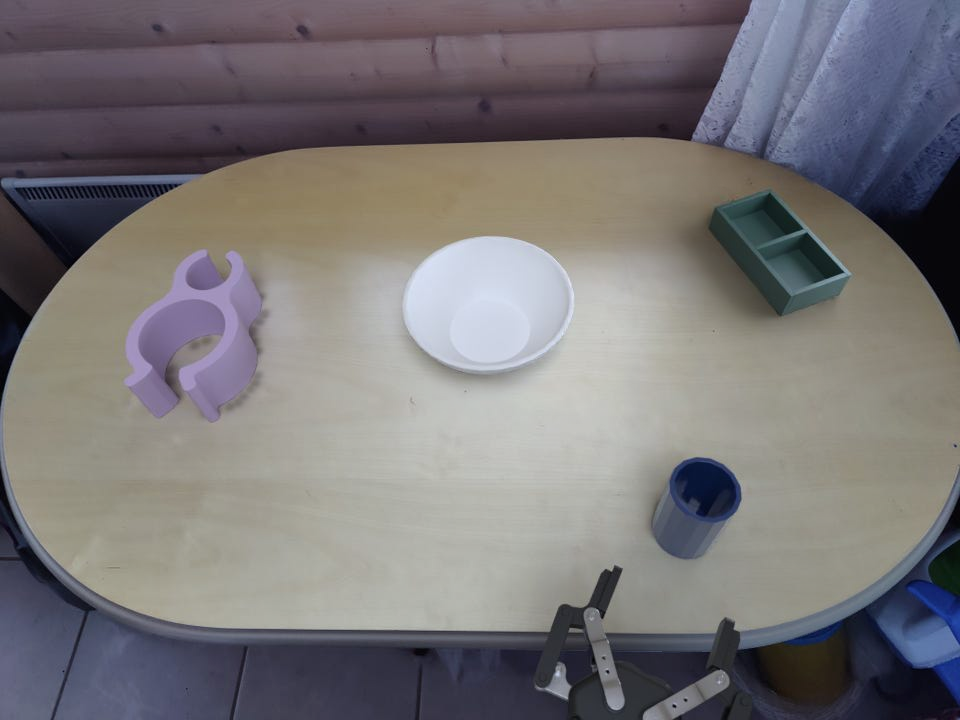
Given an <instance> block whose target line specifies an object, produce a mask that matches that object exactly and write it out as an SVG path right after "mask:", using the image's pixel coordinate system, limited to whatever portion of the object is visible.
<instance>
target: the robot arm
mask: <svg viewBox="0 0 960 720" xmlns="http://www.w3.org/2000/svg"><path fill="white" fill-rule="evenodd" d="M623 570H624V568H623V567H621V566H619V565H617V564H614V565H613V568H612V569H611V570H610V569H608V568H605V569H604V570H602V571H601V573H600V575H599V577H598V579H597V582H596V584H595V587H594V589H593V591H592V593H591V596H590V598H589V601H588V603H587V604H586V605H584V606H582V607H577V606H572V605H570V604H568V603H562V604H560V605H559V606H558V608H557V610H556V613H555V616H554V618H553V622H552V624H551V627H550V630H549V633H548V635H547V638H546V641H545V643H544V646H543V648H542V652H541V654H540V657H539V660H538V663H537V666H536V668H535V672H534V675H533V680H532V684H533V688H534V689H535V690H536V692H537V693H538V692H539V693H541V694H543V693H545V692H546V693H548V694H550V695H552V696H555V697H557V698H559V699H561V700H563V701H566V704H567V716H566V718H565V720H683V718H682V717H683V715H684V714H686V713H688V712H690V711H691V710H693V709H695V708H696V707H697V706H700V705H701V704H702V703H704V702H706V701H708V700H709V699H711V698H713V697H714V698H716V700H718V701H719V702H720V703H721V705H723V706H724V708H723V711H722V714H721V717H720V720H750V717H751V715H752V711H753V709H754V706H755V705H754V700H753V697H752V696H751V695H750V694H749V693H747V692H744V691H743V690H741V689H740V688H739V686H738V685H736V684H735V682H734V681H733V678H732V672H733V667H734V665H735V664H734V663H735V660H736V656H737V653H738V650H739V646H740V643H741V633H740V631H739V630H736V629H735V626H736V620H733V619H732V618H729V617H727V616H724V617H723V618H722V619H721V620H720V621H719V624H718V626H717V629H716V633H715V636H714V639H713V642H712V645H711V649H710V652H709V656H708V659H707V662H706V665H705V669H704V671H705V672H707V675H706V676H704V677H703V678H700V679H699V680H698V681H696V682H694V683H691V684H690V685H688V686H686V687H684V688H683V689H681V690H680V691H677V692H676V693H675V692H674V690H673V689H672V687H671V686H670V685H669V684H668V681H667V680H666V679H663V678H662V677H660V676H658V675H655V674H654V675H653V674H650V673H645V671H643V670H642V669H641V668H639V667H638V666H637V665H636V664H634V663H632V662H630V661H628V660H626V659H624V660H623V661H622V660H614V657H613V653H612V649H611V645H610V642H609V640H608V638H607V636H606V632H605V627H604V625H603V621H602V620H604V618H605V616H606V613H607V611H608V608H609V606H610V604H611V601H612V598H613V596H614V593H615V591H616V588H617V586H618V583H619V580H620V578H621V575H622V573H623ZM570 629H573V630H581V631H582V635H583V638H584V642H585V643H584V644H585V647H586V652H587V658H588V662H589V666H590V669H591V673H590V674H588V675H587V676H585V677H583V678H582V679H580V680H578V681H576V682H575V683H574V684H573V685H572V684H570V683H569V682H568V681H567V677H566V676H567V668H566V666H565V664H564V663H563V662H561V661H559V660H560V658H561V655H562V651H563V650H564V649H563V648H564V646H565V643H566V640H567V638H568V634H569V632H570Z"/></svg>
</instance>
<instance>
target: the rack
mask: <svg viewBox="0 0 960 720" xmlns="http://www.w3.org/2000/svg"><path fill="white" fill-rule="evenodd" d="M708 230H709V231H710V232H711V233H712V235H713V236H714V237H715V238H716V240H717V241H718V242H719V243H720V244H721V245H722V247H723V248H724V249H725V250H726V252H727V253H728V255H730V257H731V258H732V259H733V260H734V262H735V263H736V264H737V265H738V266H739V268H741V270H742V271H743V272H744V274H745V275H746V276H747V277H748V278H749V280H750V281H751V282H752V283H753V284H754V286H755V287H756V288H757V289H758V290H759V292H760V293H761V294H762V296H763V297H764V298H765V299H766V300H767V302H768V303H769V304H770V305H771V307H772V308H773V309H774V310H775V311H776V312H777V313H778V315H779V316H780V317H782V316H783V317H784V316H786V315H789V314H791V313H794V312H797V311H799V310H802V309H805V308H807V307H810V306H813V305H817V304H818V303H821V302H824V301H827V300H830V299H832V298H835V297H838V296H840V295H841V293H842V292H843V290H844V289H845V287H846V285H847V284H848V282H849V280H850V278H851V277H852V275H853V274H852V273H851V272H850V271H849V269H848V268H847V267H845V265H844V263H843V264H842V262H841V261H840V259H838V258H837V257H836V256H835V255H834V253H833V252H831V251H830V249H829V248H827V246H826V245H825V244H824V243H823V242H822V241H821V240H820V239H819V237H817V236H816V235H815V234H814V233H813V232H812V230H811V229H810V228H809V227H808V226H807V225H806V224H805V223H804V222H803V221H802V220H801V219H800V218H799V217H798V215H797V214H795V212H794V211H793V210H792V209H791V208H790V207H789V206H788V204H786V203H785V202H784V200H783V199H781V197H780V196H778V194H777V193H776V192H775V191H774V190H773V189H772V188H768V189H765V190H763V191H760V192H756V193H753V194H751V195H748V196H744V197H741V198H738V199H735V200H732V201H728V202H726V203H723V204H720V205H717V206H714V208H713V212H712V215H711V218H710V221H709V224H708Z"/></svg>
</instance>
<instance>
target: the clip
mask: <svg viewBox="0 0 960 720" xmlns="http://www.w3.org/2000/svg"><path fill="white" fill-rule="evenodd" d="M225 259H226V261H227V263H228V264H229V266H230V269H231V271H230V274H229V276H228V277H227V279H226V280H225V281H224V279H223V277H222V276H221V273H220V272H219V270H218V268H217V266H216V265H215V263H214V261H213V260H212V258H211V256H210V253H209V252H208V250H207V249H204V248H203V249H200V250H197V251H195V252H193V253H191V254H190V255H188V256H187V257H185V258H184V259H183V260H182V261H181V262H180V263H179V264H178V266H177V268H176V270H175V271H174V274H173V283H172V287H171V289H170V290H169V292H168V293H167V294H166V295H165V296H163V297H162V298H161V299H159V300H157V301H156V302H154V303H152V304H151V305H150V306H148V307H147V308H146V309H145V310H143V312H141V313H140V314H139V316H138V317H137V318H136V319H135V321H134V322H133V323H132V325H131V326H130V328H129V331H128V333H127V335H126V339H125V344H124V345H125V356H126V359H127V361H128V363H129V365H130V366H131V367H132V368H133V372H132V373H131V374H130V375H129V376H127V377H126V378H125V379H124V381H123V383H124V385H126V387H127V389H129V390H130V391H131V393H133V395H134V396H135V397H136V398H137V399H138V400H139V401H140V403H142V405H144V407H145V408H146V409H147V411H149V413H151V414H152V416H153V417H154V418H156V419H160V418H162V417H164V416H165V415H166V414H168V413H169V412H170V411H171V410H173V409H174V408H175V407H176V405H177V404H179V400H180V399H179V397H178V395H176V393H175V392H174V391H173V390H172V388H171V387H170V386H169V385H168V383H167V382H166V371H167V367H168V365H169V363H170V361H171V359H172V358H173V357H174V355H175V354H176V353H177V352H178V351H179V350H180V349H181V348H183V347H184V346H185V345H187V344H188V343H190V342H192V341H194V340H197V339H199V338H202V337H205V336H214V335H216V336H217V335H218V336H219V335H220V336H222V337H221V339H220V340H219V342H218V344H217V345H216V346H215V347H214V348H213V350H212V351H210V352H209V353H208V354H207V355H205V356H204V357H203V358H201V359H199V360H197V361H196V362H194V363H192V364H189V365H186V366H183V367H181V368H180V369H179V371H178V381H179V382H180V384H181V385H180V386H181V387H182V389H183V391H184V392H185V394H187V396H188V397H189V398H190V400H191V401H192V403H194V405H195V406H196V407H197V409H198V410H199V411H200V412H201V414H202V415H203V416H204V418H205V419H206V421H208V422H209V423H214V422H217V421H218V420H219V419H220V418H221V417H220V416H221V415H220V413H219V412H220V411H219V410H218V409H219V407H221V406H222V405H224V404H226V403H228V402H230V401H231V400H233V399H234V398H235V397H236V396H238V395H239V394H240V393H241V392H243V390H244V389H245V388H246V387H247V385H248V384H249V383H250V381H252V378H253V376H254V374H255V371H256V369H257V365H258V351H257V347H256V345H255V343H254V341H253V339H252V337H251V336H250V329H251V326H252V324H253V323H254V321H255V320H256V319H257V317H258V316H259V315H260V312H261V309H262V305H263V300H262V296H261V294H260V293H259V290H258V288H257V287H256V283H255V282H254V280H253V278H252V276H251V274H250V272H249V270H248V269H247V266H246V264H245V262H244V260H243V258H242V257H241V255H240V254H239V253H238V252H237V251H236V250H229V251H228V252H227V253H226V255H225Z"/></svg>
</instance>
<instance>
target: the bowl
mask: <svg viewBox="0 0 960 720" xmlns="http://www.w3.org/2000/svg"><path fill="white" fill-rule="evenodd" d="M401 301H402V304H401V312H402V316H403V322H404V324H405V326H406V328H407V330H408V332H409V335H410V337H411V338H412V339H413V340H414V341H415V343H416V344H417V345H418V347H419V348H420V349H421V350H422V351H424V352H425V354H427V355H428V356H430V357H431V358H432V359H433V360H434V361H436V362H438V363H439V364H442V365H443V366H445V367H447V368H450V369H453V370H456V371H459V372H462V373H466V374H473V375H481V376H483V375H500V374H506V373H509V372H514V371H517V370H520V369H522V368H525V367H528V366H530V365H532V364H533V363H535V362H537V361H539V360H540V359H542V358H544V356H546V355H547V354H548V353H549V352H550V351H551V350H552V349H553V348H554V347H555V346H557V344H558V343H559V341H560V340H561V339H562V337H563V336H564V335H565V333H566V332H567V330H568V327H569V325H570V322H571V320H572V317H573V315H574V307H575V293H574V287H573V284H572V282H571V279H570V277H569V275H568V273H567V271H566V269H564V267H563V266H562V264H561V263H559V261H558V260H556V259H555V258H554V256H552V254H550V253H548V252H547V251H546V250H543V249H542V248H541V247H539V246H537V245H535V244H532V243H530V242H527V241H525V240H521V239H517V238H513V237H508V236H498V235H485V236H475V237H470V238H465V239H460V240H458V241H455V242H452V243H449V244H447V245H445V246H443V247H442V248H438V250H435V251H434V252H433V253H431V254H430V255H429V256H427V257H426V258H425V259H423V260H422V262H420V263H419V265H418V266H417V267H416V269H414V270H413V272H412V273H411V275H410V277H409V279H408V280H407V282H406V285H405V288H404V291H403V294H402V300H401Z"/></svg>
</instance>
